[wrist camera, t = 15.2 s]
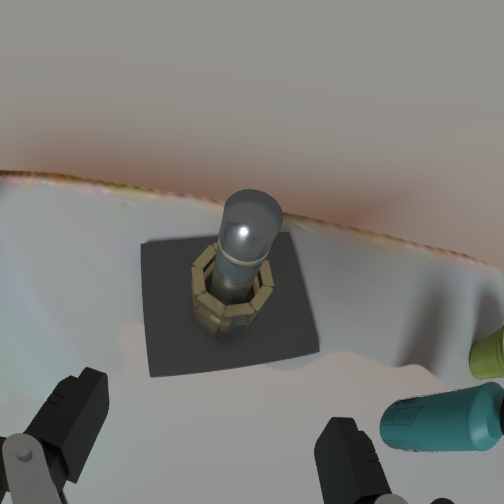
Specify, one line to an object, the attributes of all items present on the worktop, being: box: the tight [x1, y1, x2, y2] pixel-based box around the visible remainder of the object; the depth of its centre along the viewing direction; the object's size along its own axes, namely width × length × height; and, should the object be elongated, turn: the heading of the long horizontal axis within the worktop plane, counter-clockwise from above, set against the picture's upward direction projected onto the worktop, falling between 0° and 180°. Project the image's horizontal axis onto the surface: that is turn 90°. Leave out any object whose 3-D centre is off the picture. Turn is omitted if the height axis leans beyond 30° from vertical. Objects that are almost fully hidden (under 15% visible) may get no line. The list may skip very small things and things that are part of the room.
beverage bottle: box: [380, 382, 504, 452], centre depth 20 cm, size 6×7×20 cm
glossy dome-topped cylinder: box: [210, 189, 283, 306], centre depth 25 cm, size 4×4×16 cm
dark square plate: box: [141, 232, 320, 378], centre depth 30 cm, size 18×15×7 cm
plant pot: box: [469, 325, 504, 379], centre depth 31 cm, size 9×9×9 cm
